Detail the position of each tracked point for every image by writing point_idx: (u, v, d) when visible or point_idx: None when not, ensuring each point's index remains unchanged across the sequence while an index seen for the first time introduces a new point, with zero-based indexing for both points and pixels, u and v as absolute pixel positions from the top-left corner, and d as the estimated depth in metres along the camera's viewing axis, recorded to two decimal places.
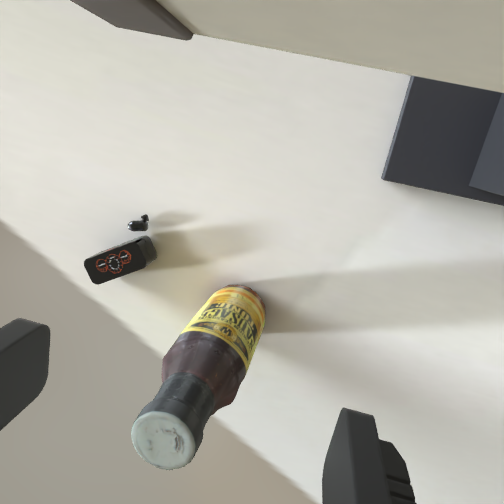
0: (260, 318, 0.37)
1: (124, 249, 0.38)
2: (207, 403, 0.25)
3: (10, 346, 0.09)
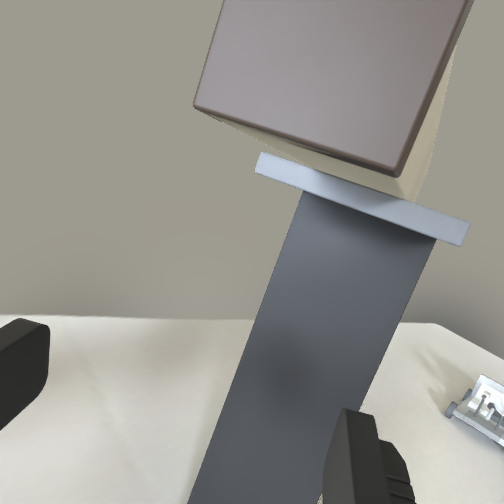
0: None
1: None
2: None
3: (10, 346, 0.09)
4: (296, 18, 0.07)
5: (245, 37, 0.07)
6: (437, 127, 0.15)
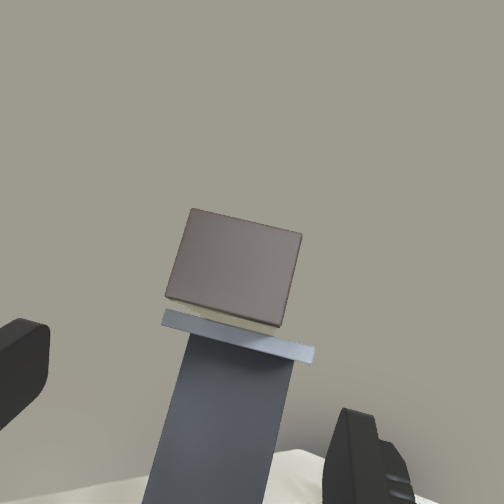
0: None
1: None
2: None
3: (10, 346, 0.09)
4: (222, 253, 0.14)
5: (195, 260, 0.14)
6: None
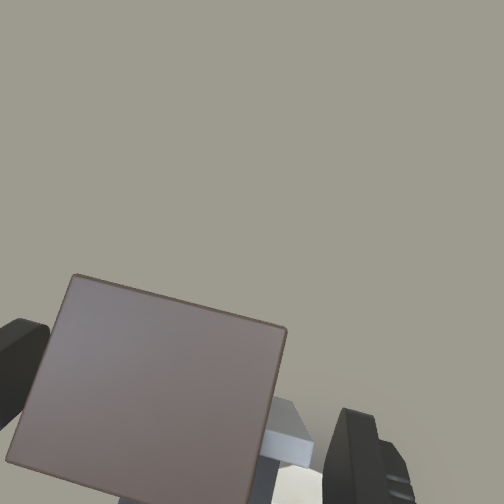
0: None
1: None
2: None
3: (10, 346, 0.09)
4: (127, 369, 0.07)
5: (71, 385, 0.07)
6: None
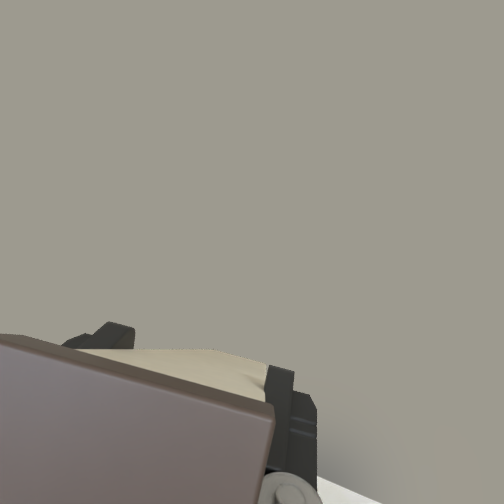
0: None
1: None
2: None
3: (111, 348, 0.10)
4: (38, 480, 0.05)
5: None
6: None
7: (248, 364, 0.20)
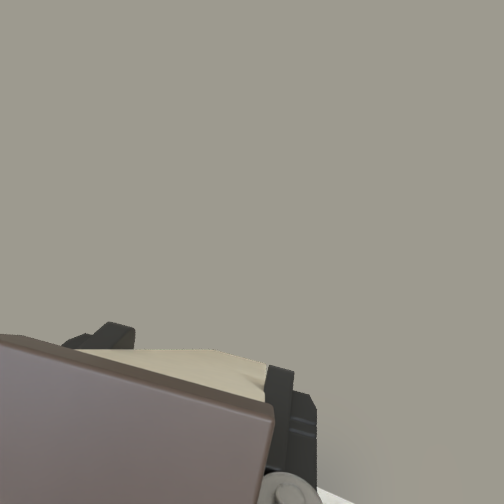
0: None
1: None
2: None
3: (111, 348, 0.10)
4: (37, 480, 0.05)
5: None
6: None
7: (248, 364, 0.20)
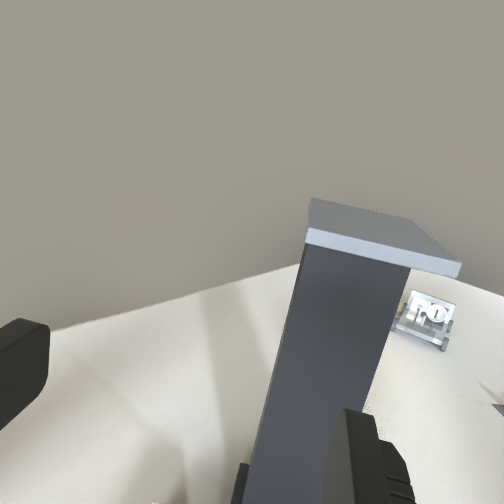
0: None
1: None
2: None
3: (10, 346, 0.09)
4: None
5: None
6: None
7: None
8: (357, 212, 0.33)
